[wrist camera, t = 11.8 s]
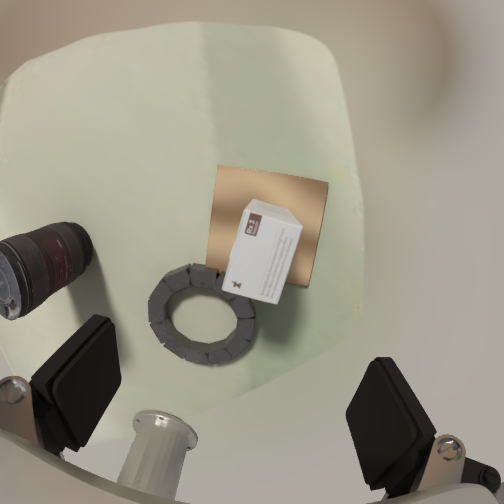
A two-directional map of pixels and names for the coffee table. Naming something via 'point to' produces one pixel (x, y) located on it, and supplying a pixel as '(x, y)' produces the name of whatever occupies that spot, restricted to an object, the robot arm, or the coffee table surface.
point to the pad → (273, 192)
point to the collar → (181, 344)
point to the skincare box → (262, 252)
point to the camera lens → (40, 265)
